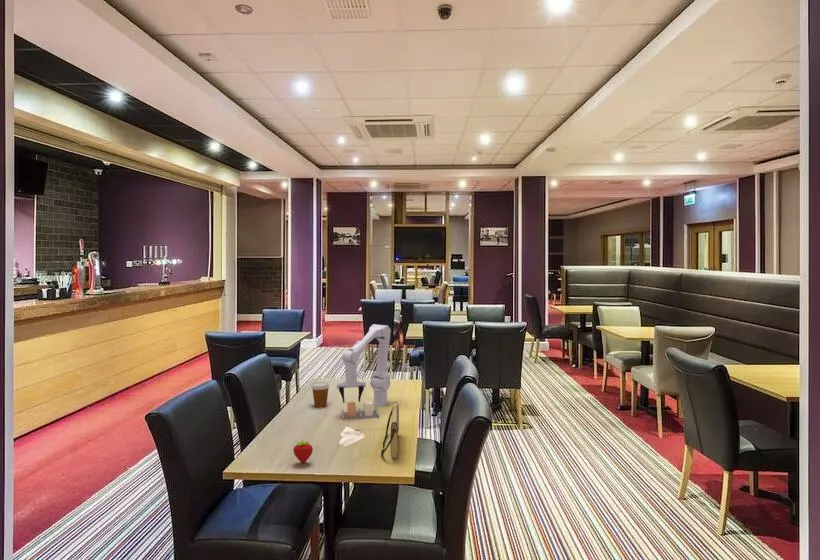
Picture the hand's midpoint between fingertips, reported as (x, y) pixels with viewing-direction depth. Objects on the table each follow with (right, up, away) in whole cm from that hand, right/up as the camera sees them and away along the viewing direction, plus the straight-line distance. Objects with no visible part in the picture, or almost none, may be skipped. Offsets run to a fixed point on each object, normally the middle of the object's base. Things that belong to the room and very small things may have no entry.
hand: (351, 401), depth 231 cm
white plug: (+8, -7, +2) cm, 11 cm away
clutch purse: (+21, -10, -36) cm, 43 cm away
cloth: (+2, -10, -24) cm, 26 cm away
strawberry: (-12, -10, -52) cm, 55 cm away
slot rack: (+4, -8, +1) cm, 9 cm away
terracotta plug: (0, -7, 0) cm, 7 cm away
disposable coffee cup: (-19, -8, +19) cm, 28 cm away
